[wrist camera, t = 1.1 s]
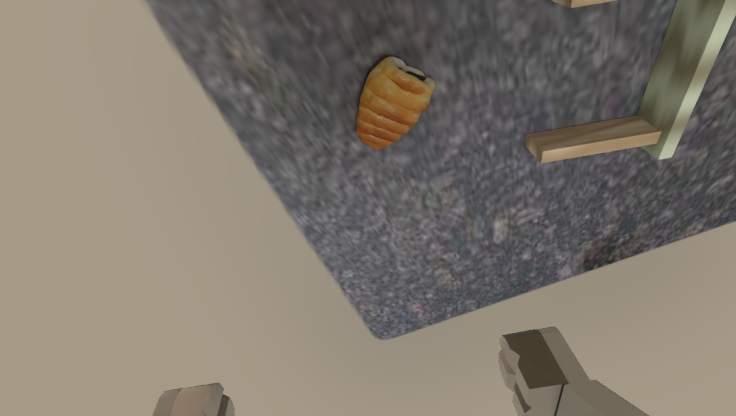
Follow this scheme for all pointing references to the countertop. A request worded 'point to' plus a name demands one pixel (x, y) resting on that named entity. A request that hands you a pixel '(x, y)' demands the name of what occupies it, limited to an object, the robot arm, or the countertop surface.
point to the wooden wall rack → (652, 89)
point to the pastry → (391, 102)
